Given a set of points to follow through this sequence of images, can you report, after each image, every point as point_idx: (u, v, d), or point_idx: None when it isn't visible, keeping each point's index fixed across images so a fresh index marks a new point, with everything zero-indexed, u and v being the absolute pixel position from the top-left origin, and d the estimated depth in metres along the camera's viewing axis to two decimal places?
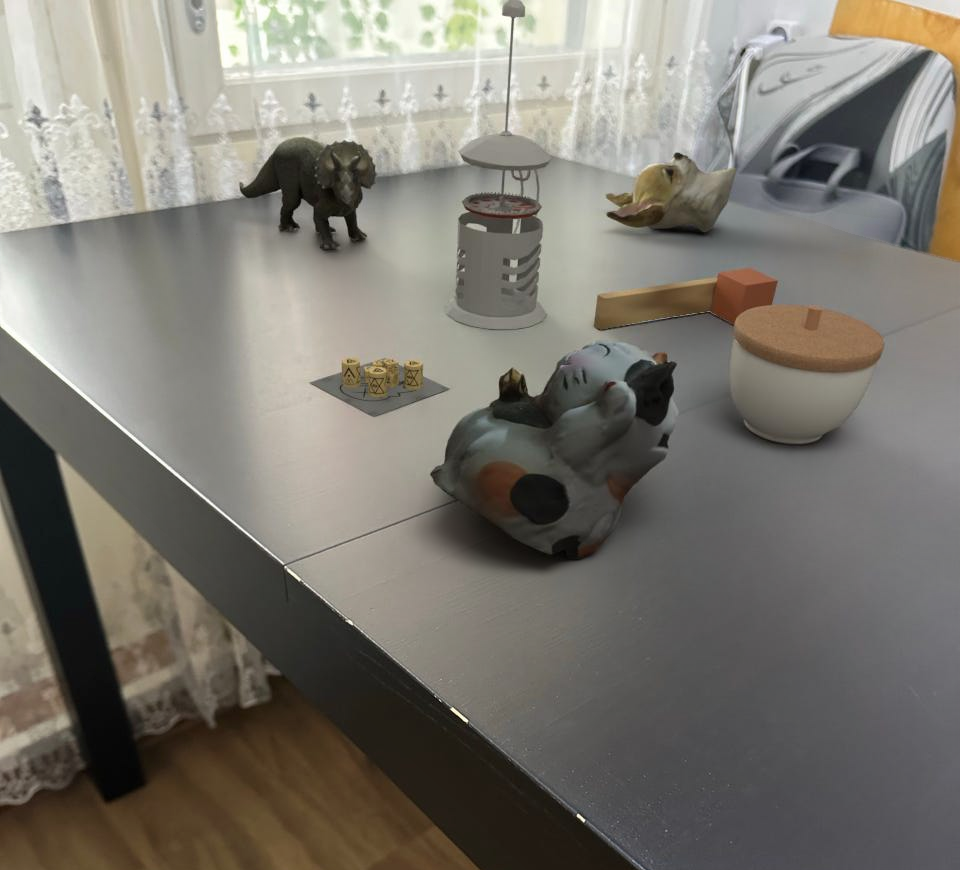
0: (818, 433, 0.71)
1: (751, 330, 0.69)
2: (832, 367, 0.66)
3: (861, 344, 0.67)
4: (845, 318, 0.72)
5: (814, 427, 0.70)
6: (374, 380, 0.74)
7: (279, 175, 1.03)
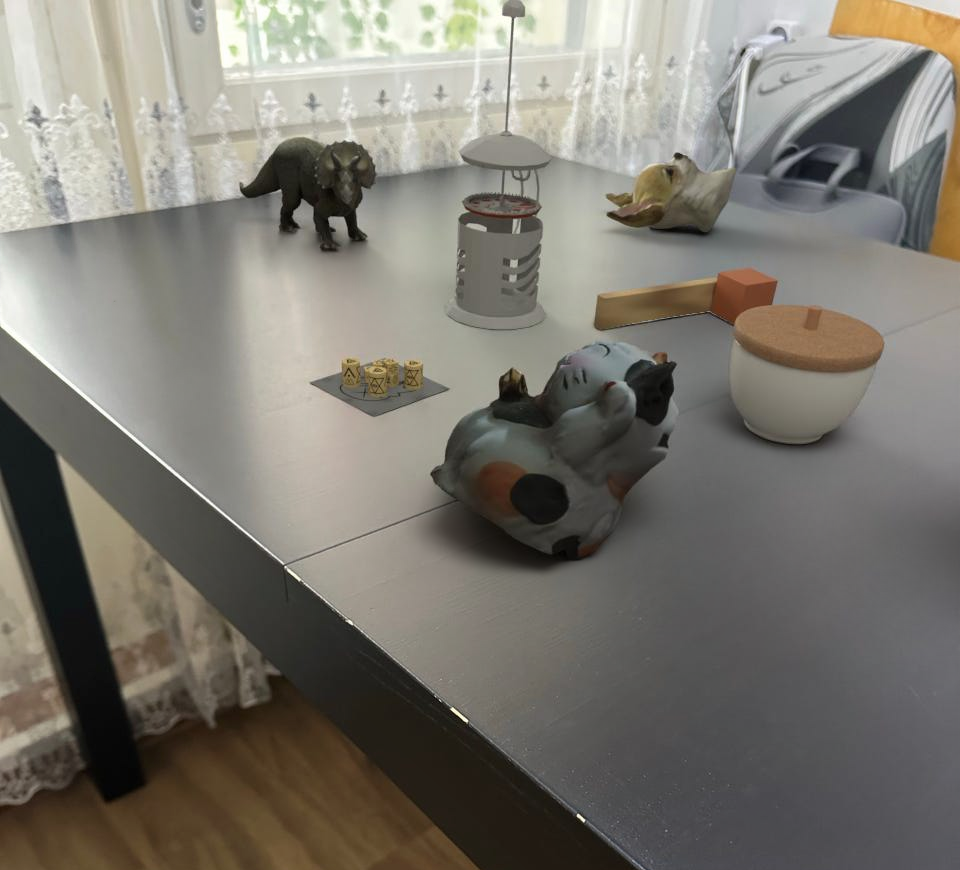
0: (818, 433, 0.71)
1: (751, 330, 0.69)
2: (832, 367, 0.66)
3: (861, 344, 0.67)
4: (845, 318, 0.72)
5: (814, 427, 0.70)
6: (374, 380, 0.74)
7: (279, 175, 1.03)
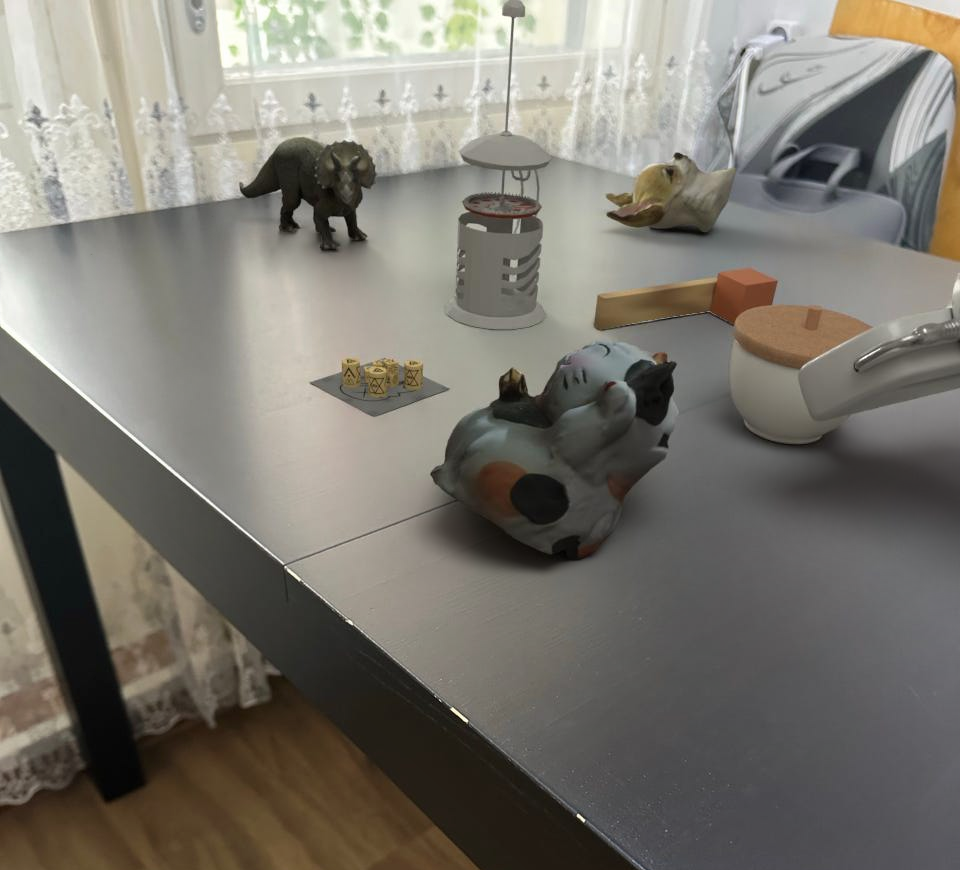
0: (818, 433, 0.71)
1: (751, 330, 0.69)
2: None
3: None
4: (845, 318, 0.72)
5: (814, 427, 0.70)
6: (374, 380, 0.74)
7: (279, 175, 1.03)
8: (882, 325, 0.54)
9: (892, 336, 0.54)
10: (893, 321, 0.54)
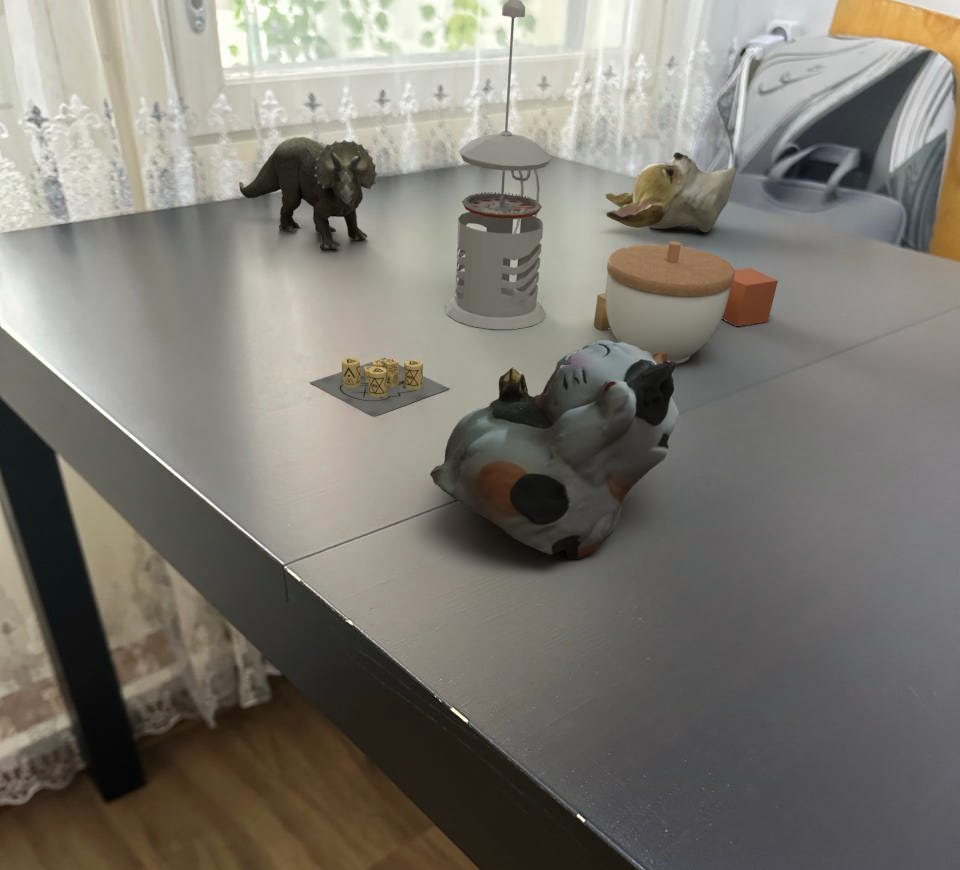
0: (682, 354, 0.82)
1: (619, 263, 0.79)
2: (685, 292, 0.77)
3: (713, 274, 0.78)
4: (705, 254, 0.82)
5: (676, 347, 0.81)
6: (374, 380, 0.74)
7: (279, 175, 1.03)
8: None
9: None
10: None
